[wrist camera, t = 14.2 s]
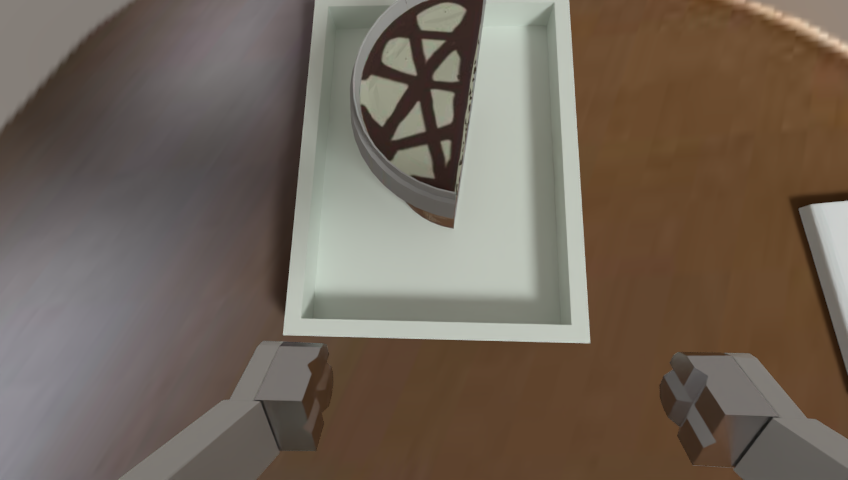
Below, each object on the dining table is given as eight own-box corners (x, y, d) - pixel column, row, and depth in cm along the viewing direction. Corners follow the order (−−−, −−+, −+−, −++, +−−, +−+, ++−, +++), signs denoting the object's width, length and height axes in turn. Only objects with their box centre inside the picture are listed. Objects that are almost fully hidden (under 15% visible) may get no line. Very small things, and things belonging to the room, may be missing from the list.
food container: (392, 76, 30) (367, -47, 20) (475, 86, 29) (491, -36, 19) (361, 236, 27) (314, 186, 17) (450, 250, 27) (454, 205, 17)
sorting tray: (300, 334, 27) (283, 335, 24) (327, 25, 32) (315, -6, 29) (573, 341, 26) (590, 343, 23) (556, 22, 31) (568, -10, 28)
